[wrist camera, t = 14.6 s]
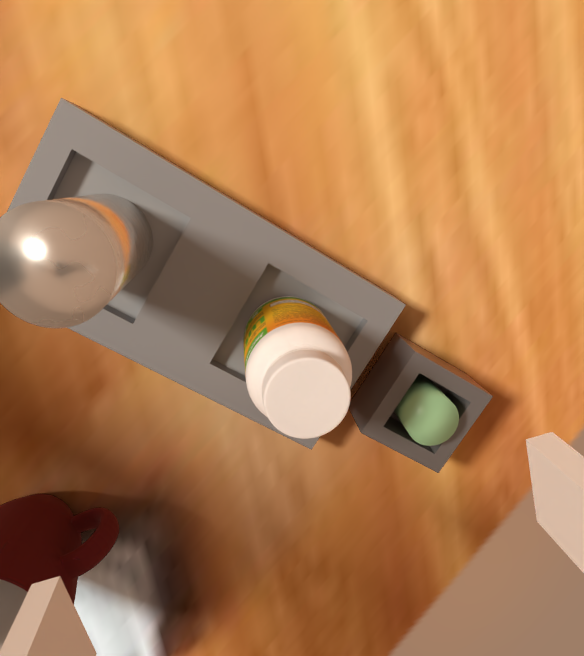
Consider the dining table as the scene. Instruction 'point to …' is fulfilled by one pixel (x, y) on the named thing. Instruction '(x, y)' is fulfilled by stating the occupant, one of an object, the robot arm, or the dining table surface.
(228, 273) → the grey slotted tray
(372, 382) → the grey square holder
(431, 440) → the light green egg
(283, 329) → the supplement bottle
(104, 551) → the mug
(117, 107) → the dining table surface
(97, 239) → the seated billet
